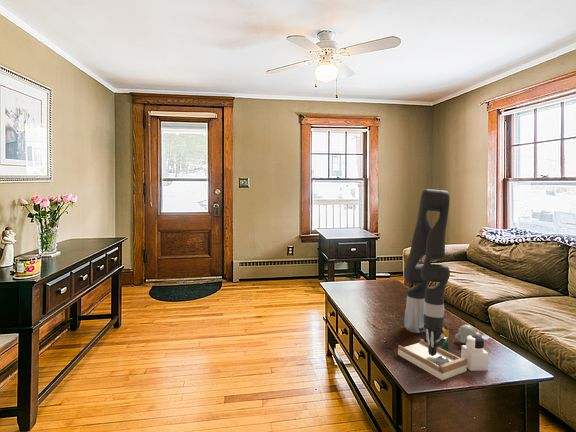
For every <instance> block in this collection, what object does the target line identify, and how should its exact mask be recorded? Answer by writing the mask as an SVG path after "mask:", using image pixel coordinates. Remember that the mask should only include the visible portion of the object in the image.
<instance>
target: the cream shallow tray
mask: <svg viewBox="0 0 576 432" xmlns="http://www.w3.org/2000/svg"><path fill="white" fill-rule="evenodd" d="M397 355H398V356H399V357H401V358H403V359H405V360H407V361H408V362H410V363H412V364H414V365H415V366H417V367H419V368H420V369H421V370H424V371H426V372H427V373H429V374H431V375H432V376H434V377H436V378H437V379H440V381H445V380H447V379H450V378H452V377H454V376H457V375H460V374H463V373H465V372H467V369H468V368H467V358H465V357H462V358H461V356H460V357H459V356H457V355H456V354H453V353H451V352H449V351H445V350H443V349H441V348H439V347H438V348H437V351H436V354H435V355H434V356H431V355H429V352H428V343H427V342H424V340H423V338H420V339H419V342H417V343H414V344H410V345H407V346H402V345H401V344H399V345H398V346H397ZM439 356H444V357H446V358H447V359H448V360H449V362H448V363H445V364H442V365H437V364H436V359H437V358H438V357H439Z"/></svg>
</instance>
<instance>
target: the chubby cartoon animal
mask: <svg viewBox="0 0 576 432" xmlns="http://www.w3.org/2000/svg"><path fill="white" fill-rule="evenodd" d="M469 335H476V336H479V337H481V338H483V340H484V341H485V337H483V333H480V331H479V330H478V331H476V329H475V327H473V326H472V325H471V324H463V325H461V326H460V327H459V328H458V333H456V334H455V335H454V339H456V340H457V341H458V342H460V343H462V344H465V345H466V343H467V336H469Z"/></svg>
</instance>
